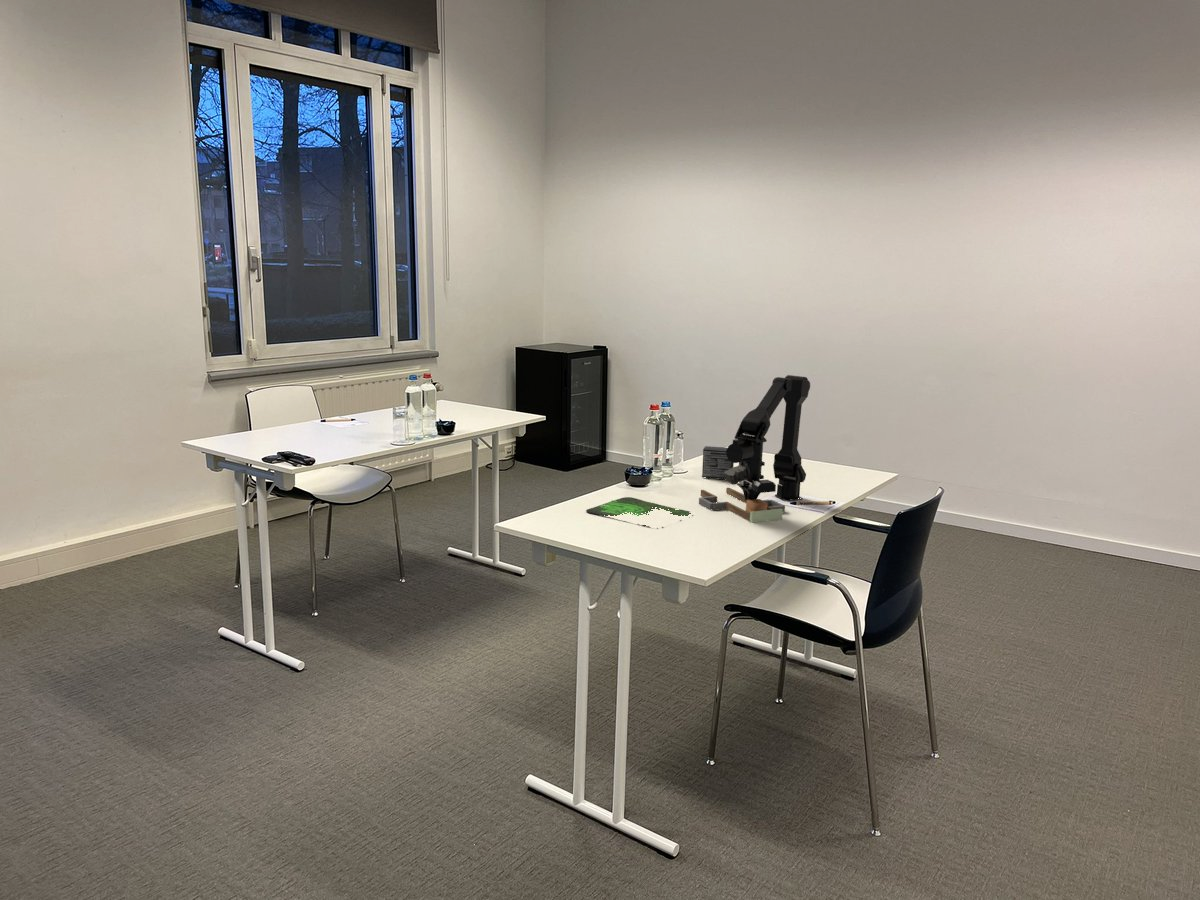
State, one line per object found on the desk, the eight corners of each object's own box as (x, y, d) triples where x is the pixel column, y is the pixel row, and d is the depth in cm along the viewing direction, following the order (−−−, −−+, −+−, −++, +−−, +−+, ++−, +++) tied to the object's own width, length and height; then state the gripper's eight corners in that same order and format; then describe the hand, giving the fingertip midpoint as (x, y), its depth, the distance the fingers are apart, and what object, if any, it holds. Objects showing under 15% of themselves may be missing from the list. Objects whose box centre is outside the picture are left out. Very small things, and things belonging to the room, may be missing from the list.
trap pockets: (755, 498, 286) (755, 492, 285) (785, 512, 270) (785, 506, 270) (698, 503, 278) (698, 497, 277) (725, 518, 262) (725, 511, 262)
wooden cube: (758, 513, 269) (759, 498, 268) (766, 517, 265) (767, 502, 264) (745, 514, 267) (746, 499, 266) (753, 518, 263) (754, 503, 262)
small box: (733, 476, 314) (735, 447, 312) (731, 480, 308) (733, 451, 306) (703, 473, 317) (705, 445, 315) (701, 478, 311) (702, 448, 309)
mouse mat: (699, 514, 267) (699, 511, 267) (659, 531, 250) (659, 527, 249) (625, 498, 283) (625, 495, 282) (582, 513, 265) (582, 510, 265)
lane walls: (728, 493, 291) (729, 487, 290) (780, 518, 264) (780, 511, 263) (700, 495, 287) (700, 489, 286) (749, 521, 260) (750, 514, 259)
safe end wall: (780, 518, 264) (780, 508, 263) (782, 519, 263) (782, 509, 262) (749, 521, 260) (750, 511, 259) (751, 522, 259) (752, 512, 258)
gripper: (713, 452, 271) (711, 502, 275) (745, 466, 255) (742, 518, 258) (745, 450, 276) (742, 499, 279) (778, 464, 259) (774, 515, 262)
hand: (749, 507), depth 269 cm, fingers closed
